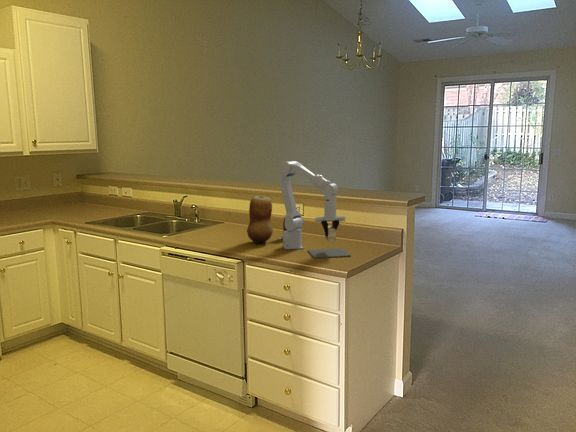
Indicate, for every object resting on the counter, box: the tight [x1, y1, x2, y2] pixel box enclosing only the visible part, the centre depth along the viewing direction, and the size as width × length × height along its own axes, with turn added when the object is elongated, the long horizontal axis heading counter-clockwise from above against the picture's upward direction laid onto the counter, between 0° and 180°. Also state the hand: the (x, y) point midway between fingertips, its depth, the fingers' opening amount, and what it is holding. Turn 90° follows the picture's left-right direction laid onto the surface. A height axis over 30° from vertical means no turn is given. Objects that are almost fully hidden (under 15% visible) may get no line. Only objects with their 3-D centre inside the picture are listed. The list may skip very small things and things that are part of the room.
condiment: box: [278, 217, 287, 240], centre depth 272 cm, size 7×8×12 cm
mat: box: [307, 247, 352, 259], centre depth 239 cm, size 18×14×1 cm
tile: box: [324, 225, 337, 243], centre depth 239 cm, size 9×3×6 cm, turn 11°
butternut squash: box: [246, 195, 274, 244], centre depth 261 cm, size 14×13×25 cm
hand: (330, 235), depth 239 cm, fingers closed on tile, 3 cm apart
